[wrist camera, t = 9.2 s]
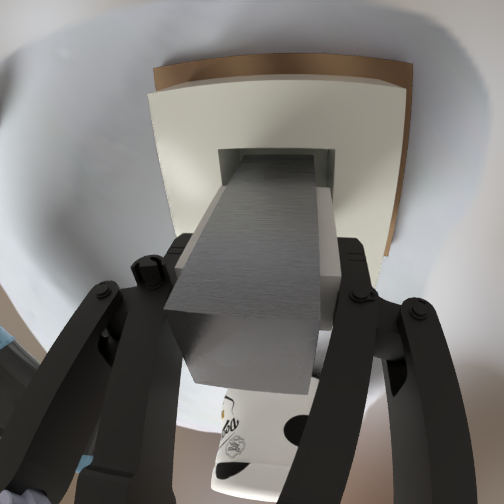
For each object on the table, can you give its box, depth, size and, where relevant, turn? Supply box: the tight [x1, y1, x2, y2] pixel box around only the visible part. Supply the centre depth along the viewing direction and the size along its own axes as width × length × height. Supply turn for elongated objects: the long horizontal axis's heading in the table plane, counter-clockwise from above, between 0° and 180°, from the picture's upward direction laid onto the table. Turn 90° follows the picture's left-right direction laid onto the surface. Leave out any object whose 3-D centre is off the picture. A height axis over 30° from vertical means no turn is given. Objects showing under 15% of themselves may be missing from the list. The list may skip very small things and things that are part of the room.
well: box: [148, 74, 406, 289], centre depth 19 cm, size 13×13×6 cm
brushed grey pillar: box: [163, 154, 320, 395], centre depth 13 cm, size 4×4×12 cm
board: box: [153, 53, 413, 256], centre depth 21 cm, size 18×16×1 cm
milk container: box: [211, 375, 320, 502], centre depth 36 cm, size 17×17×18 cm
